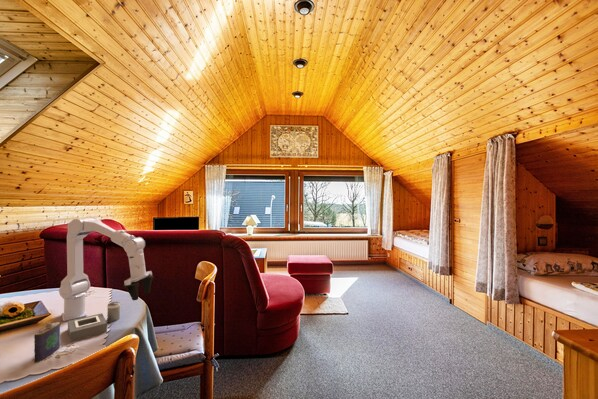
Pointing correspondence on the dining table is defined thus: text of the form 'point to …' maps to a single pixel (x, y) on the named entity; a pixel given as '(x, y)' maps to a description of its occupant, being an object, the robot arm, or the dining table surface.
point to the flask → (46, 341)
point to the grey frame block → (86, 327)
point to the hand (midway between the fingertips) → (141, 296)
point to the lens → (113, 311)
